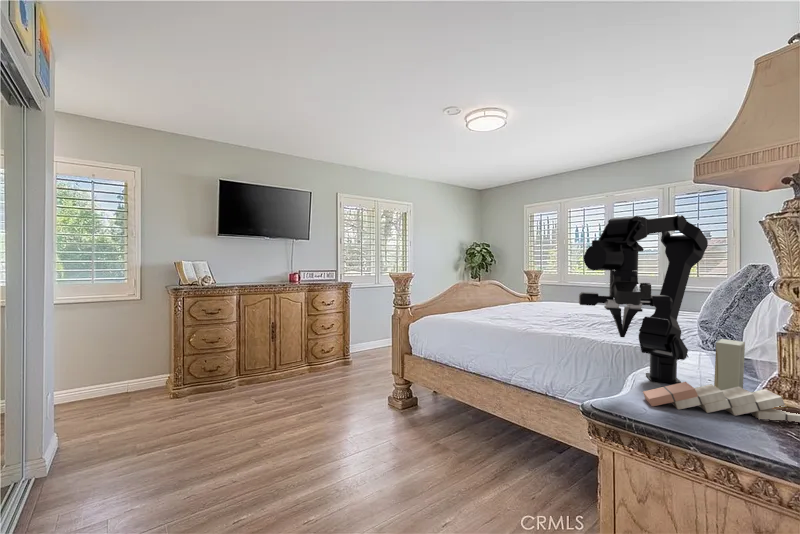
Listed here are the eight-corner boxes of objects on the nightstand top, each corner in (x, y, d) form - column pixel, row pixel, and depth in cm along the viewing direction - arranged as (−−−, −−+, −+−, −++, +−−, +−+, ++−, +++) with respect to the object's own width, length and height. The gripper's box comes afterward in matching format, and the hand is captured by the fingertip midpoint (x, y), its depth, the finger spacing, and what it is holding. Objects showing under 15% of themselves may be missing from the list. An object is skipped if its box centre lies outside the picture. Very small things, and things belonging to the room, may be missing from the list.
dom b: (666, 394, 86) (711, 384, 83) (669, 401, 86) (714, 391, 83) (675, 401, 81) (722, 391, 78) (678, 409, 81) (726, 399, 78)
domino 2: (693, 396, 84) (738, 386, 82) (696, 404, 84) (742, 393, 82) (704, 404, 79) (753, 393, 77) (707, 413, 79) (756, 402, 77)
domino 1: (642, 391, 87) (685, 381, 85) (645, 398, 87) (688, 389, 85) (649, 398, 82) (695, 388, 80) (652, 406, 82) (698, 396, 80)
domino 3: (744, 402, 81) (797, 407, 79) (744, 411, 81) (797, 416, 79) (758, 411, 76) (815, 417, 74) (758, 420, 76) (814, 426, 74)
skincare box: (719, 390, 94) (720, 338, 94) (744, 395, 91) (745, 341, 90) (713, 395, 90) (714, 341, 90) (739, 401, 86) (740, 344, 86)
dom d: (718, 399, 83) (765, 389, 81) (721, 407, 83) (768, 396, 80) (731, 407, 78) (781, 396, 76) (734, 415, 78) (785, 405, 76)
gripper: (582, 270, 90) (580, 339, 90) (680, 272, 83) (679, 347, 83) (579, 269, 100) (578, 331, 100) (666, 271, 94) (665, 338, 94)
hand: (622, 337), depth 94 cm, fingers closed
